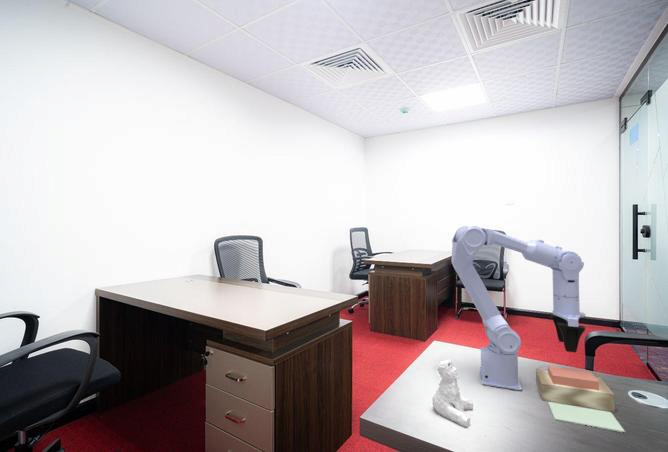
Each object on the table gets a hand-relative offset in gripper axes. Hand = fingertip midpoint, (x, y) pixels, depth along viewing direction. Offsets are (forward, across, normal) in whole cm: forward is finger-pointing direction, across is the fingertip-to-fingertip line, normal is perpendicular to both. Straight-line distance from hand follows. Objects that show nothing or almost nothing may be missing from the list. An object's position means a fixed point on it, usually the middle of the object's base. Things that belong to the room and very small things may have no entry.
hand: (567, 346), depth 86 cm
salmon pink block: (+6, -7, +1) cm, 10 cm away
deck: (+10, -7, +1) cm, 12 cm away
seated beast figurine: (+11, -25, +27) cm, 39 cm away
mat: (+10, -16, 0) cm, 19 cm away
